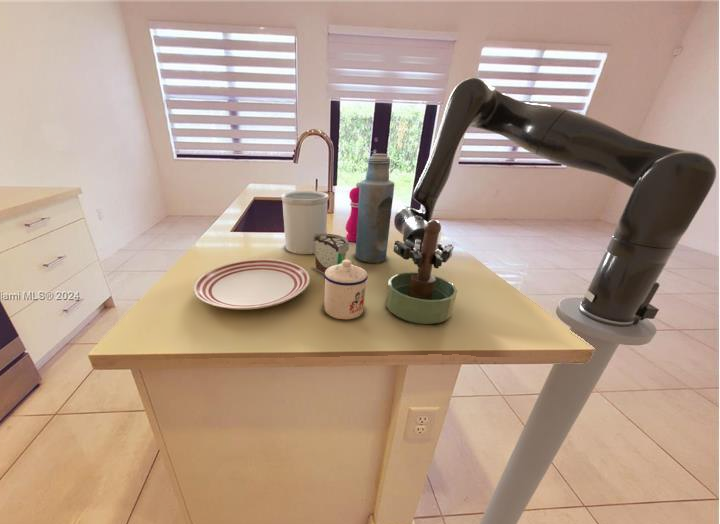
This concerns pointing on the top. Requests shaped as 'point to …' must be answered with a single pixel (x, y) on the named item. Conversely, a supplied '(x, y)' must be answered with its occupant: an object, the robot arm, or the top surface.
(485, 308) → the top surface
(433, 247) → the wooden pestle
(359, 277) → the teacup with lid
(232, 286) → the dinner plate
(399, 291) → the bowl
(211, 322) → the top surface
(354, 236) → the pepper mill
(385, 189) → the bottle
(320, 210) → the utensil holder
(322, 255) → the slice of cake
